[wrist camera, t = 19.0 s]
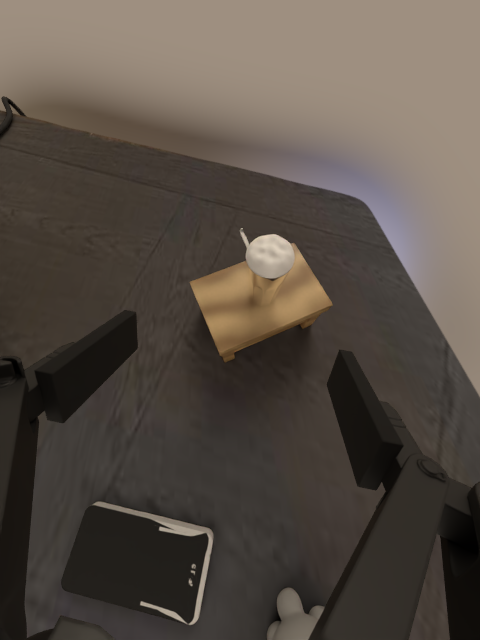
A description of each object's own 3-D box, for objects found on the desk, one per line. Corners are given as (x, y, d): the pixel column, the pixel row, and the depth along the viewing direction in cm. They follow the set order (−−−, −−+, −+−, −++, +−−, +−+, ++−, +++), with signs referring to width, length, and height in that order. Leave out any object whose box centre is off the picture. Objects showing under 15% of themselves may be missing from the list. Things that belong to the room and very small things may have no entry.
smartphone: (87, 503, 28) (214, 534, 27) (94, 499, 29) (215, 529, 28) (58, 588, 26) (196, 627, 25) (66, 580, 27) (199, 616, 26)
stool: (199, 307, 38) (189, 282, 31) (283, 273, 41) (294, 242, 33) (223, 365, 35) (219, 353, 28) (314, 326, 37) (333, 304, 30)
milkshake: (247, 270, 31) (251, 211, 22) (286, 287, 31) (307, 232, 21) (231, 299, 30) (228, 248, 21) (271, 317, 29) (287, 273, 20)
